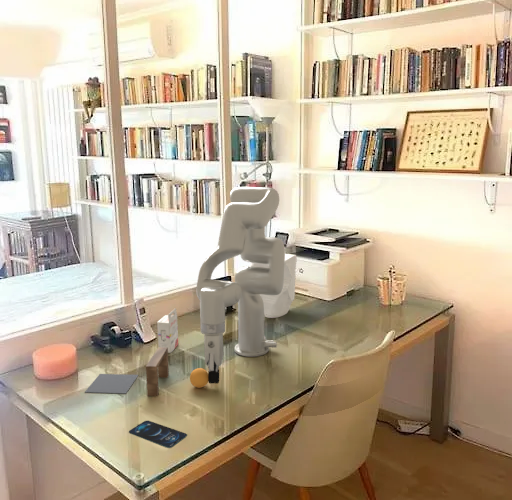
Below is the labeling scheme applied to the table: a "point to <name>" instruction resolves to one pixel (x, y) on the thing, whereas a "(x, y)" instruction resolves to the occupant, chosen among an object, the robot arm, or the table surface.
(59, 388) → the table surface
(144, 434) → the smartphone
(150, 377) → the bridge
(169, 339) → the ink cartridge box
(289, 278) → the white curved block
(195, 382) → the ball
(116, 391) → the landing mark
